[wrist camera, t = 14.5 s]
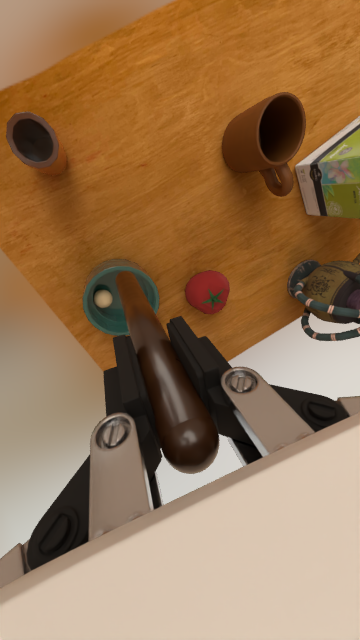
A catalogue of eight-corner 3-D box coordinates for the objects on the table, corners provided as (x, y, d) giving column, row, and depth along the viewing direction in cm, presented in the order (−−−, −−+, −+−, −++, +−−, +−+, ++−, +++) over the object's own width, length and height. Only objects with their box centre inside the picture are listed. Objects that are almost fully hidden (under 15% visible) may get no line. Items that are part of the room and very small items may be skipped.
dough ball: (103, 312, 38) (94, 309, 40) (118, 303, 40) (109, 301, 42) (95, 295, 36) (87, 293, 38) (111, 287, 38) (102, 285, 40)
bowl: (98, 329, 43) (99, 344, 39) (72, 269, 37) (69, 279, 33) (158, 310, 45) (165, 322, 41) (142, 250, 40) (149, 257, 35)
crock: (38, 178, 31) (21, 171, 24) (21, 137, 29) (-4, 115, 21) (72, 172, 32) (65, 163, 24) (58, 132, 30) (46, 108, 22)
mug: (274, 184, 42) (317, 181, 34) (239, 208, 42) (273, 210, 34) (254, 103, 35) (301, 75, 27) (212, 131, 35) (247, 111, 27)
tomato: (208, 309, 49) (224, 324, 43) (174, 298, 45) (187, 313, 39) (225, 273, 46) (245, 284, 40) (191, 259, 43) (207, 269, 37)
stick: (116, 289, 22) (172, 496, 7) (112, 270, 21) (167, 459, 6) (136, 285, 22) (229, 473, 7) (132, 267, 21) (231, 436, 6)
